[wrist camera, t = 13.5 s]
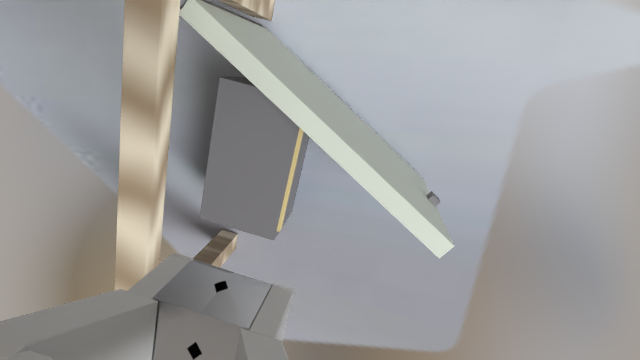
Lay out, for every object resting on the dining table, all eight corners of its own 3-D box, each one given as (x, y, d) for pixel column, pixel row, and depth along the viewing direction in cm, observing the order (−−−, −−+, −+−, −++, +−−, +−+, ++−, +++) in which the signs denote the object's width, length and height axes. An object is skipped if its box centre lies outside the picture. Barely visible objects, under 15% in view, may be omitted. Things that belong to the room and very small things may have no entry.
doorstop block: (250, 77, 44) (219, 77, 35) (321, 95, 43) (308, 100, 34) (230, 193, 49) (199, 218, 40) (294, 211, 48) (276, 241, 39)
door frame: (255, -6, 41) (128, -92, 20) (275, -2, 40) (167, -84, 20) (220, 244, 51) (112, 360, 30) (235, 248, 51) (138, 368, 30)
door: (247, 35, 42) (158, 7, 24) (262, 16, 41) (180, -27, 24) (410, 190, 44) (432, 263, 27) (427, 175, 43) (461, 240, 26)
